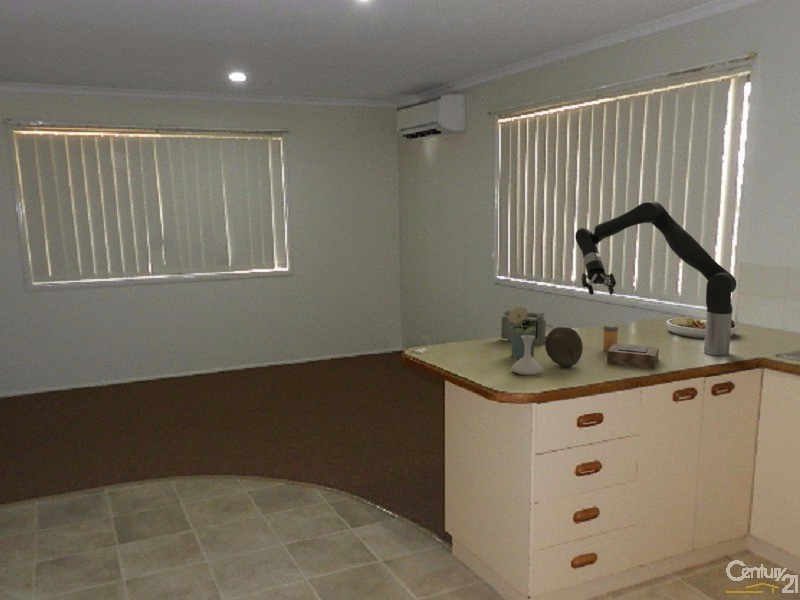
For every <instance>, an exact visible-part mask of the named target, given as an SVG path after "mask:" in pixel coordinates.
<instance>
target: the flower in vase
mask: <svg viewBox="0 0 800 600" xmlns="http://www.w3.org/2000/svg"><path fill="white" fill-rule="evenodd" d="M510 311H511V312H510V314H509V316H508V319H509V322H511V323H512V322H513V323H518V322H521V321H523V320H524V319H525V318H527V317H526V316H527V313H528V312H529V311H528V308H527V307H524V305H520V306H515V308H513V309H512V310H510ZM521 327H522V322H521ZM522 330H523V327H522V329H521V328H515V329H514V330H513V331H512V332H511V333H520V332H521V331H522ZM533 330H534V326H533V327H531V328H528V329H526V333H530V332H532V331H533ZM523 332H524V333H525V331H524V330H523ZM526 333H525V335H523V336H521V337H522V339H523V341H524V347H525V351H524V356H523V357H522V358H521V359H518V360H517V361H516V362H515V363H513V364H512V365H511V371H512V372H513V373H516V374H517V375H522V376H536V375H540V374H541V373H543V371H544V368H543V366H541V364H540V363H539V362H537V360H535V359H534V357H533V358H532V356H531V344H532V341H533V339H534V338H535V336H532V335H526Z"/></svg>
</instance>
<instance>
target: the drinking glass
mask: <svg viewBox="0 0 800 600" xmlns="http://www.w3.org/2000/svg"><path fill="white" fill-rule="evenodd" d="M522 327H523V330H524V331H525V333H526V329H528V328H531V327H532V326H522ZM522 327H521V326H512V327H511V332H512V331H513V330H514V329H515V328H521V329H522ZM523 330H522V331H521V332H520V333H511V341H510V342H511V344H510V345H511V357H512V356H513V357H516V358H515V359H517V358H522V357H523V356H524V351H525V347H524V341H523V339H522V337H521V336H523V335H525V333H524V332H523ZM535 333H536V328H535V327H534V330H533V331H532V332H530V333H526V335H532V336H535ZM534 340H535V338H534V339H533V341H532V344H531V356H532V357H533V358H534V356H535V355H534V352H535V343H534ZM513 357H512V358H513Z"/></svg>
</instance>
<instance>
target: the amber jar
mask: <svg viewBox="0 0 800 600" xmlns="http://www.w3.org/2000/svg"><path fill="white" fill-rule="evenodd" d="M618 333H619V326H616V325H604V326H603V340H602V341H603V343H602V344H603V347H602V350H603V351H604V352H608V350H609V349H610V347H611V346H612V345H613V343H618V339H619V338H618V337H619V336H618V335H619V334H618Z"/></svg>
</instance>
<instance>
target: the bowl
mask: <svg viewBox="0 0 800 600" xmlns="http://www.w3.org/2000/svg"><path fill="white" fill-rule="evenodd" d="M666 327H667V328H668V330H669V331H670V332H671V333H673V334H675V335H679V336H682V337H683V336H684V337H688V338H694V339H705V330H706V318H699V317H698V318H697V317H677V318H676V317H675V318H671V319H670V318H669V319H668V320H667V321H666ZM737 328H738V327H737V325H736V324H735V321H734V320H733V319H732V320H731V336H733V335H734V334H735V333H736V331H737ZM731 336H730V337H731Z"/></svg>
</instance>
